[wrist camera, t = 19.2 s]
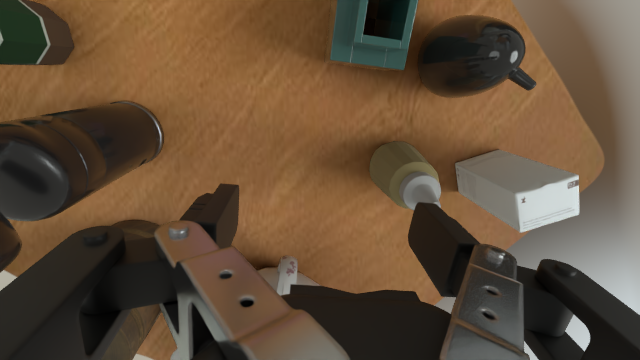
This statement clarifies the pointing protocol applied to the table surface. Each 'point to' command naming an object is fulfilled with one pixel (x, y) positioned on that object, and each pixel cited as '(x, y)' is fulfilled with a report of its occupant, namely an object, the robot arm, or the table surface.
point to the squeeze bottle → (404, 175)
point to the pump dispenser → (471, 56)
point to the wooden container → (138, 318)
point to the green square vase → (364, 50)
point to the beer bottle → (32, 34)
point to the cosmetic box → (519, 189)
